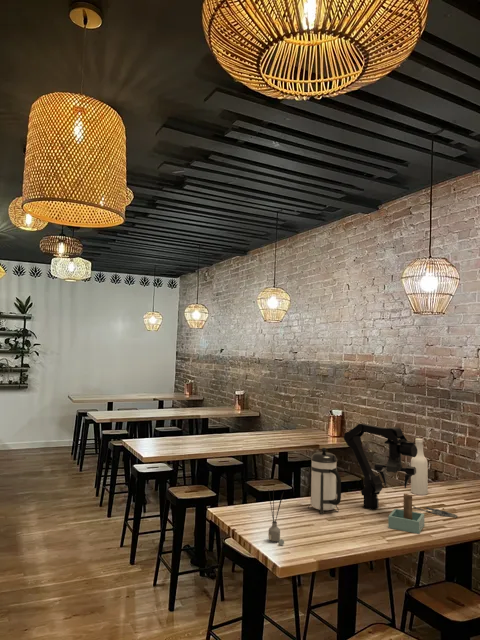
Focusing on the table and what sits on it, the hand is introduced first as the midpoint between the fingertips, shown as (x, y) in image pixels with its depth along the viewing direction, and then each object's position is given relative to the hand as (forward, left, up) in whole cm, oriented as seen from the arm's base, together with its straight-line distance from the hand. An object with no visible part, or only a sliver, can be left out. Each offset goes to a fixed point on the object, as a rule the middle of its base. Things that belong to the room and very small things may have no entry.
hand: (395, 486), depth 232 cm
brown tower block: (+9, -14, -12) cm, 21 cm away
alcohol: (+3, +46, -13) cm, 48 cm away
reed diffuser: (-33, -62, -13) cm, 71 cm away
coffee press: (-30, -14, -13) cm, 36 cm away
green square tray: (+8, -14, -13) cm, 21 cm away
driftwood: (+16, +16, -14) cm, 26 cm away
